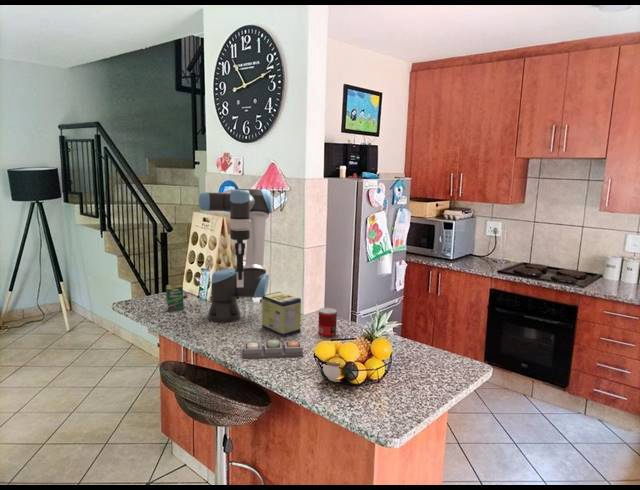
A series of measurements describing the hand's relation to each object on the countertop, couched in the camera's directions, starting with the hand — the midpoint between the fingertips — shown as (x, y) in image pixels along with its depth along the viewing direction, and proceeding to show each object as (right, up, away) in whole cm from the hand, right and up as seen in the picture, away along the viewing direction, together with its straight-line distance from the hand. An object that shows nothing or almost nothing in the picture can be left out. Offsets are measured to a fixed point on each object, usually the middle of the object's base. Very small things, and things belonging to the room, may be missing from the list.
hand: (240, 286), depth 183 cm
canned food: (+36, -23, +18) cm, 46 cm away
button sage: (+14, -24, -4) cm, 28 cm away
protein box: (+15, -22, +22) cm, 34 cm away
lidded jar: (+38, -30, -23) cm, 54 cm away
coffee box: (-41, -16, +45) cm, 62 cm away
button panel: (+14, -26, -3) cm, 29 cm away
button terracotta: (+22, -25, -2) cm, 33 cm away
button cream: (+6, -25, -5) cm, 26 cm away
